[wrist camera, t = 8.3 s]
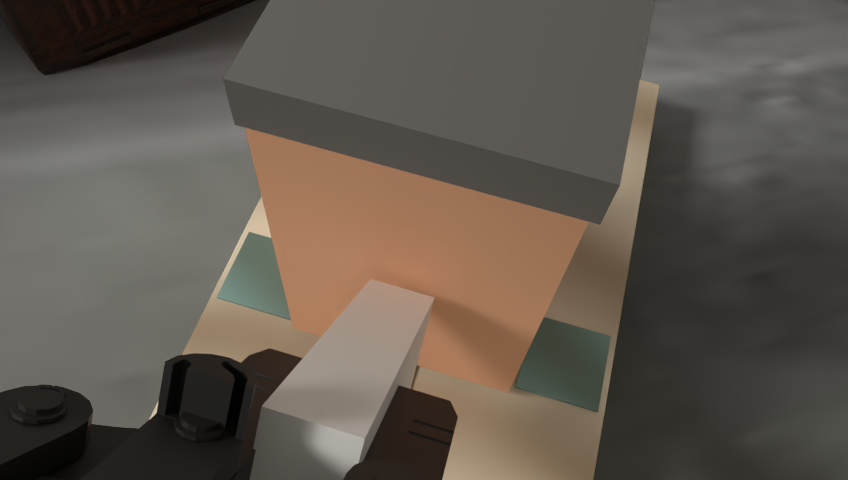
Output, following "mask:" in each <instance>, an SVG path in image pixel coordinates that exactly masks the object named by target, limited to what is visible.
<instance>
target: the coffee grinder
mask: <svg viewBox="0 0 848 480" xmlns="http://www.w3.org/2000/svg"><path fill="white" fill-rule="evenodd" d="M251 1H254V0H0V14H1V16H2V18H3V20H4V22H5V24H6V26H7V27H8V29H9V30H10V31H11V33H12V34H13V36H14V37H15V38H16V40H17V41H18V42H19V44H20V45H21V47H22V48H23V49H24V51H25V52H26V53H27V55H28V56H29V58H30V59H31V60H32V62H33V63H34V64H35V66H36V67H37V69H38V70H39V71H41V72H42V73H43V74H50V73H54V72H59V71H63V70H67V69H72V68H76V67H80V66H84V65H88V64H90V63H93V62H96V61H99V60H102V59H105V58H107V57H110V56H113V55H116V54H119V53H122V52H124V51H127V50H130V49H133V48H135V47H138V46H141V45H143V44H146V43H149V42H151V41H154V40H157V39H160V38H162V37H165V36H168V35H170V34H173V33H176V32H178V31H181V30H184V29H187V28H189V27H191V26H194V25H196V24H199V23H201V22H203V21H206V20H208V19H211V18H213V17H215V16H218V15H220V14H223V13H225V12H227V11H230V10H232V9H235V8H237V7H239V6H242V5H244V4H246V3H249V2H251Z"/></svg>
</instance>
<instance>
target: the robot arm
mask: <svg viewBox="0 0 848 480" xmlns="http://www.w3.org/2000/svg"><path fill="white" fill-rule="evenodd" d="M434 298H435V297H432V296H428V295H425V294H421V293H418V292H414V291H411V290H408V289H404V288H401V287H397V286H394V285H390V284H387V283H383V282H380V281H376V280H373V279H370V280H369V282H368V283H367V284H366V285H365V286H364V287H363V289H362V290H361V291H360V292H359V293H358V294H357V296H356V297H355V298H354V299H353V300H352V301H351V303H350V304H349V305H348V306H347V307H346V308H345V310H344V311H343V312H342V313H341V314H340V315H339V317H338V318H337V319H336V320H335V321H334V322H333V324H332V325H331V326H330V327H329V328H328V329H327V331H326V332H325V333H324V334H323V335H322V336H321V338H320V339H319V340H318V341H317V342H316V343H315V345H314V346H313V347H312V348H311V349H310V350H309V352H308V353H307V354H306V355H305V356H304V357H303V358H301V357H297V356H294V355H291V354H287V353H284V352H281V351H278V350H274V349H271V348H269V349H266V350H263V351H260V352H257V353H254V354H251V355H249V356H248V357H246V358H245V359H244V360H243V361H242V362H238V361H236V360H234V359H231V358H229V357H224V356H219V355H215V354H200V353H192V354H186V355H180V356H176V357H174V358H172V359H170V360H168V361H165V366H164V372H163V378H162V384H161V390H160V396H159V402H158V408H157V413H156V414H155V415H154V416H153V417H152V418H151V419H150V420H148V421H147V422H146V423H145V424H144V425H143V426H142V427H140V428H139V429H136V428H120V427H111V426H102V425H94V424H91V422H92V415H93V409H92V406H91V403H90V401H89V400H88V399H86V398H85V397H84V396H83V395H81V394H80V393H78V392H75V391H72V390H69V389H66V388H63V387H59V386H52V385H38V386H23V387H19V388H15V389H11V390H7V391H4V392H1V393H0V480H442V478H443V474H444V470H445V467H446V463H447V459H448V455H449V451H450V446H451V443H452V439H453V434H454V431H455V427H456V423H457V419H458V416H457V414H456V412H455V410H454V407H453V405H452V403H451V401H449V400H446V399H443V398H439V397H436V396H433V395H429V394H426V393H423V392H420V391H416V390H413V389H411V385H412V381H413V377H414V373H415V370H416V366H417V362H418V358H419V355H420V351H421V347H422V343H423V339H424V336H425V332H426V328H427V324H428V321H429V317H430V313H431V309H432V305H433V302H434Z"/></svg>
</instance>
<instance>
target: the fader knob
mask: <svg viewBox="0 0 848 480" xmlns="http://www.w3.org/2000/svg"><path fill="white" fill-rule="evenodd" d="M654 2H655V0H270V1H269V3H268V4H267V6H266V8H265V9H264V11H263V13H262V14H261V16H260V18H259V19H258V21H257V23H256V24H255V26H254V28H253V29H252V31H251V33H250V34H249V36H248V38H247V39H246V41H245V43H244V45H243V46H242V48H241V50H240V51H239V53H238V55H237V56H236V58H235V60H234V61H233V63H232V65H231V66H230V68H229V70H228V71H227V73H226V75H225V76H224V78H223V81H224V85H225V88H226V92H227V96H228V100H229V104H230V108H231V112H232V116H233V120H234V123H235V125H238V126H241V127H245V129H246V134H247V138H248V142H249V146H250V150H251V154H252V159H253V163H254V167H255V171H256V175H257V179H258V184H259V188H260V192H261V196H262V200H263V204H264V209H265V213H266V217H267V221H268V225H269V230H270V234H271V238H272V242H273V246H274V250H275V255H276V259H277V263H278V267H279V271H280V275H281V280H282V284H283V288H284V292H285V296H286V300H287V305H288V309H289V313H290V317H291V321H292V325H293V328H294V329H298V330H301V331H304V332H308V333H311V334H314V335H318V336H322V335H323V334H324V333H325V332H326V331H327V329H328V328H329V327H330V326H331V325H332V324H333V322H334V321H335V320H336V319H337V318H338V317H339V315H340V314H341V313H342V312H343V311H344V310H345V308H346V307H347V306H348V305H349V304H350V303H351V301H352V300H353V299H354V298H355V297H356V296H357V294H358V293H359V292H360V291H361V290H362V289H363V287H364V286H365V285H366V284H367V283H368V282H369V280H370V279H373V280H376V281H380V282H383V283H387V284H390V285H394V286H397V287H401V288H404V289H408V290H411V291H414V292H418V293H421V294H425V295H428V296H432V297H435V298H434V302H433V305H432V309H431V313H430V317H429V321H428V324H427V328H426V332H425V336H424V339H423V343H422V347H421V351H420V355H419V358H418V362H417V366H421V367H424V368H427V369H431V370H434V371H437V372H441V373H444V374H447V375H451V376H454V377H457V378H461V379H464V380H467V381H471V382H474V383H477V384H481V385H484V386H487V387H491V388H494V389H497V390H500V391H504V392H507V393H508V392H509V389H510V387H511V385H512V383H513V381H514V379H515V377H516V375H517V373H518V370H519V368H520V366H521V364H522V362H523V360H524V358H525V356H526V354H527V351H528V349H529V347H530V345H531V343H532V341H533V339H534V337H535V335H536V332H537V330H538V328H539V326H540V324H541V322H542V320H543V318H544V316H545V313H546V311H547V309H548V307H549V305H550V303H551V301H552V299H553V296H554V294H555V292H556V290H557V288H558V286H559V284H560V282H561V280H562V277H563V275H564V273H565V271H566V269H567V267H568V265H569V263H570V261H571V258H572V256H573V254H574V252H575V250H576V248H577V246H578V244H579V242H580V239H581V237H582V235H583V233H584V231H585V229H586V227H587V225H588V223H589V222H591V223H595V224H599V225H600V224H601V222H602V220H603V218H604V216H605V214H606V212H607V210H608V208H609V206H610V204H611V202H612V200H613V198H614V196H615V194H616V192H617V190H618V188H619V186H620V183H621V178H622V172H623V167H624V162H625V156H626V151H627V146H628V140H629V135H630V130H631V124H632V119H633V114H634V109H635V103H636V98H637V93H638V87H639V82H640V77H641V71H642V66H643V61H644V55H645V50H646V45H647V39H648V34H649V29H650V23H651V18H652V13H653V7H654Z"/></svg>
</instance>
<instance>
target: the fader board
mask: <svg viewBox="0 0 848 480" xmlns="http://www.w3.org/2000/svg"><path fill="white" fill-rule="evenodd" d="M658 91H659V84H655V83H651V82H647V81H643V80H640V82H639V87H638V93H637V98H636V103H635V109H634V114H633V119H632V124H631V130H630V135H629V140H628V146H627V151H626V156H625V162H624V167H623V172H622V178H621V183H620V186H619V188H618V190H617V192H616V194H615V196H614V198H613V200H612V202H611V204H610V206H609V208H608V210H607V212H606V214H605V216H604V218H603V220H602V222H601V224H600V225H599V224H595V223H591V222H589V223H588V225H587V227H586V229H585V231H584V233H583V235H582V237H581V239H580V242H579V244H578V246H577V248H576V250H575V252H574V254H573V256H572V258H571V261H570V263H569V265H568V267H567V269H566V271H565V273H564V275H563V277H562V280H561V282H560V284H559V286H558V288H557V290H556V292H555V294H554V296H553V299H552V301H551V303H550V305H549V307H548V309H547V311H546V313H545V316H544V318H543V320H542V322H541V324H540V326H539V328H538V330H537V332H536V335H535V337H534V339H533V341H532V343H531V345H530V347H529V349H528V351H527V354H526V356H525V358H524V360H523V362H522V364H521V366H520V368H519V370H518V373H517V375H516V377H515V379H514V381H513V383H512V385H511V387H510V389H509V392H508V393H507V392H504V391H500V390H497V389H494V388H491V387H487V386H484V385H481V384H477V383H474V382H471V381H467V380H464V379H461V378H457V377H454V376H451V375H447V374H444V373H441V372H437V371H434V370H431V369H427V368H424V367H421V366H416V370H415V373H414V377H413V381H412V385H411V389H413V390H416V391H420V392H423V393H426V394H429V395H433V396H436V397H439V398H443V399H446V400H449V401H451V403H452V405H453V407H454V410H455V412H456V414H457V416H458V419H457V423H456V427H455V431H454V434H453V439H452V443H451V446H450V451H449V455H448V459H447V463H446V467H445V470H444V474H443V478H442V480H593V478H594V472H595V466H596V460H597V454H598V448H599V442H600V436H601V430H602V424H603V419H604V413H605V407H606V401H607V395H608V389H609V383H610V377H611V371H612V365H613V359H614V353H615V347H616V341H617V335H618V329H619V323H620V317H621V311H622V305H623V299H624V293H625V287H626V281H627V275H628V270H629V264H630V258H631V252H632V246H633V240H634V234H635V228H636V222H637V216H638V210H639V204H640V198H641V192H642V186H643V180H644V174H645V168H646V162H647V156H648V150H649V144H650V138H651V132H652V126H653V121H654V115H655V109H656V103H657V97H658ZM320 338H321V336H318V335H314V334H311V333H308V332H304V331H301V330H298V329H294V328H293V325H292V321H291V317H290V313H289V309H288V305H287V300H286V296H285V292H284V288H283V284H282V280H281V275H280V271H279V267H278V263H277V259H276V255H275V250H274V246H273V242H272V238H271V234H270V230H269V225H268V221H267V217H266V213H265V209H264V204H263V200H262V196H261V198H260V200H259V202H258V204H257V206H256V208H255V210H254V212H253V214H252V216H251V218H250V220H249V222H248V224H247V226H246V228H245V230H244V232H243V234H242V236H241V238H240V240H239V242H238V244H237V246H236V248H235V250H234V252H233V254H232V256H231V258H230V260H229V262H228V264H227V266H226V268H225V270H224V272H223V274H222V276H221V278H220V280H219V282H218V284H217V286H216V288H215V290H214V292H213V294H212V296H211V298H210V300H209V302H208V304H207V306H206V307H205V309H204V311H203V313H202V315H201V317H200V319H199V321H198V323H197V325H196V327H195V329H194V331H193V333H192V335H191V337H190V339H189V341H188V343H187V345H186V347H185V349H184V351H183V353H182V355H186V354H192V353H200V354H215V355H219V356H224V357H229V358H231V359H234V360H236V361H238V362H242V361H243V360H244V359H245V358H246V357H248V356H249V355H251V354H254V353H257V352H260V351H263V350H266V349H269V348H271V349H274V350H278V351H281V352H284V353H287V354H291V355H294V356H297V357H301V358H303V357H304V356H305V355H306V354H307V353H308V352H309V350H310V349H311V348H312V347H313V346H314V345H315V343H316V342H317V341H318V340H319V339H320ZM158 402H159V401H158ZM157 408H158V403H157V405H156V407H155V409H154V411H153V413H152V415H151V417H150V419H151V418H152V417H153V416H154V415H155V414H156V413H157ZM150 419H149V420H150Z"/></svg>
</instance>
